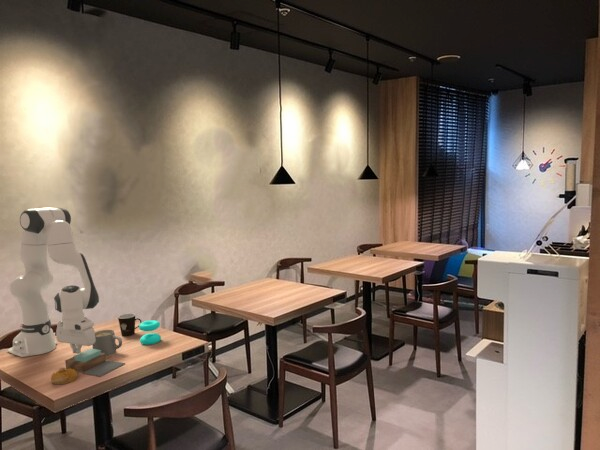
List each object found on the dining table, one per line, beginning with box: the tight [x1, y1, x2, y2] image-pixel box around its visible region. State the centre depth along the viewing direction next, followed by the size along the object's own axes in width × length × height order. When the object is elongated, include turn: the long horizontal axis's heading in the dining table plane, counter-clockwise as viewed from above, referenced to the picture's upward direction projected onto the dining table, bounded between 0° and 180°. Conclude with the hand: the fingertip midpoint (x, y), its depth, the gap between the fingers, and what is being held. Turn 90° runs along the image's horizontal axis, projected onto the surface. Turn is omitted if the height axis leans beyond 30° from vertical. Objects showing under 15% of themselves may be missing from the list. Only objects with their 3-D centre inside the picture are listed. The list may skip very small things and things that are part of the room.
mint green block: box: [73, 348, 101, 362], centre depth 209 cm, size 6×9×2 cm, turn 157°
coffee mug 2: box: [117, 313, 143, 338], centre depth 248 cm, size 12×9×10 cm
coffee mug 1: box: [91, 329, 123, 358], centre depth 222 cm, size 13×10×10 cm
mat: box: [82, 359, 126, 378], centre depth 206 cm, size 10×14×1 cm
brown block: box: [64, 353, 107, 373], centre depth 209 cm, size 11×12×4 cm
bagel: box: [50, 368, 79, 385], centre depth 196 cm, size 10×11×5 cm
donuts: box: [138, 319, 162, 346], centre depth 236 cm, size 10×10×10 cm
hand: (76, 353), depth 211 cm, fingers closed
